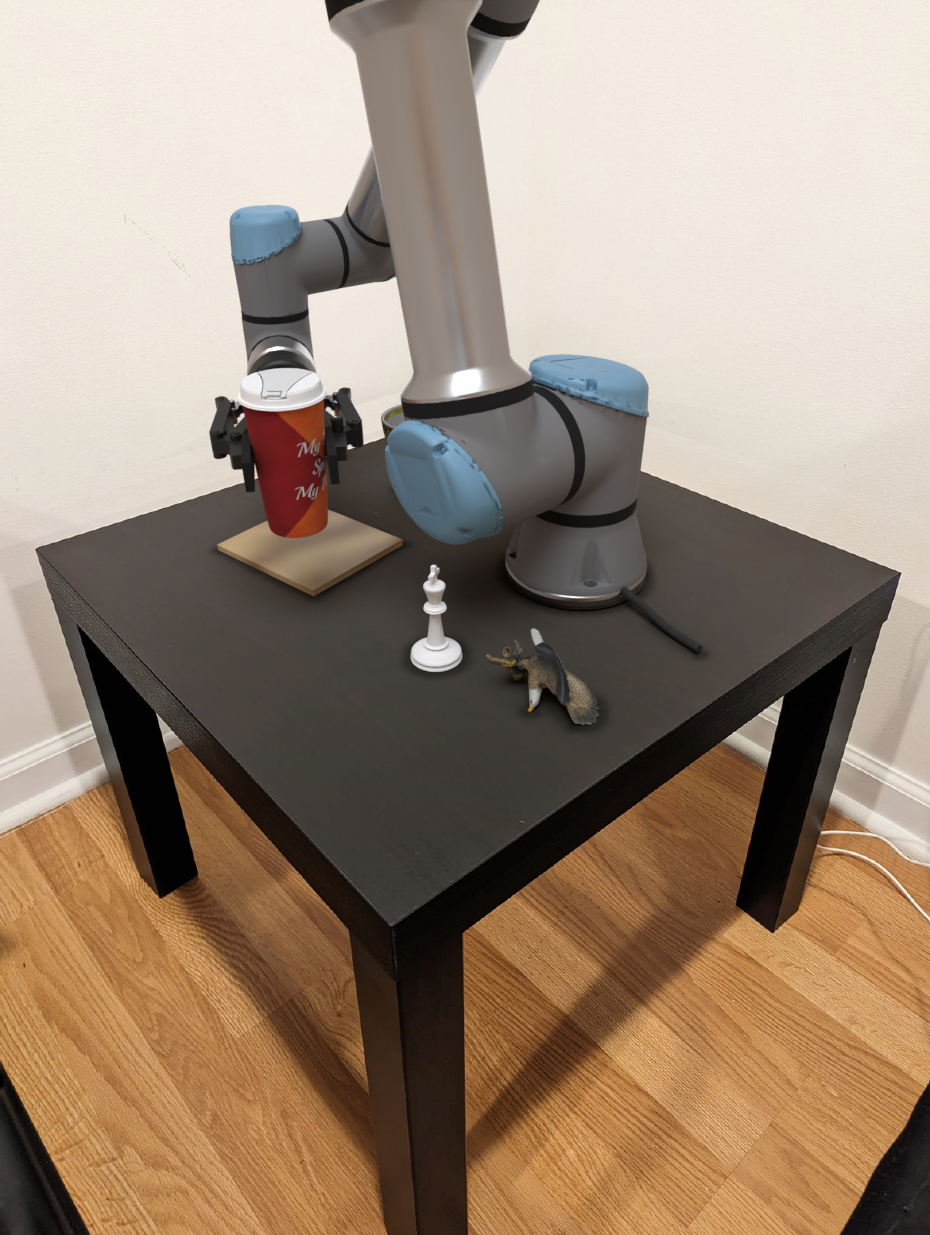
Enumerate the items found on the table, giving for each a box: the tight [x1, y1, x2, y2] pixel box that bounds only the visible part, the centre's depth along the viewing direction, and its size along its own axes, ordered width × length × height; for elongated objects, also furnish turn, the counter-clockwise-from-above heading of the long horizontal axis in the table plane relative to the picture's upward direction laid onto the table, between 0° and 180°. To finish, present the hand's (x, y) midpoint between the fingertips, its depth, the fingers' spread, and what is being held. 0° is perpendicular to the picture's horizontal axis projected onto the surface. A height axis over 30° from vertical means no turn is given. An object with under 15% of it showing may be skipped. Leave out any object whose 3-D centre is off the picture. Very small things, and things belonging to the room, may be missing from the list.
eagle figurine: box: [485, 627, 600, 726], centre depth 75 cm, size 8×7×9 cm
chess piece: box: [410, 564, 463, 673], centre depth 80 cm, size 5×5×10 cm
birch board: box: [216, 509, 404, 597], centre depth 100 cm, size 16×14×1 cm
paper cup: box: [236, 368, 329, 538], centre depth 79 cm, size 8×8×14 cm
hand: (291, 473), depth 74 cm, fingers closed on paper cup, 7 cm apart
